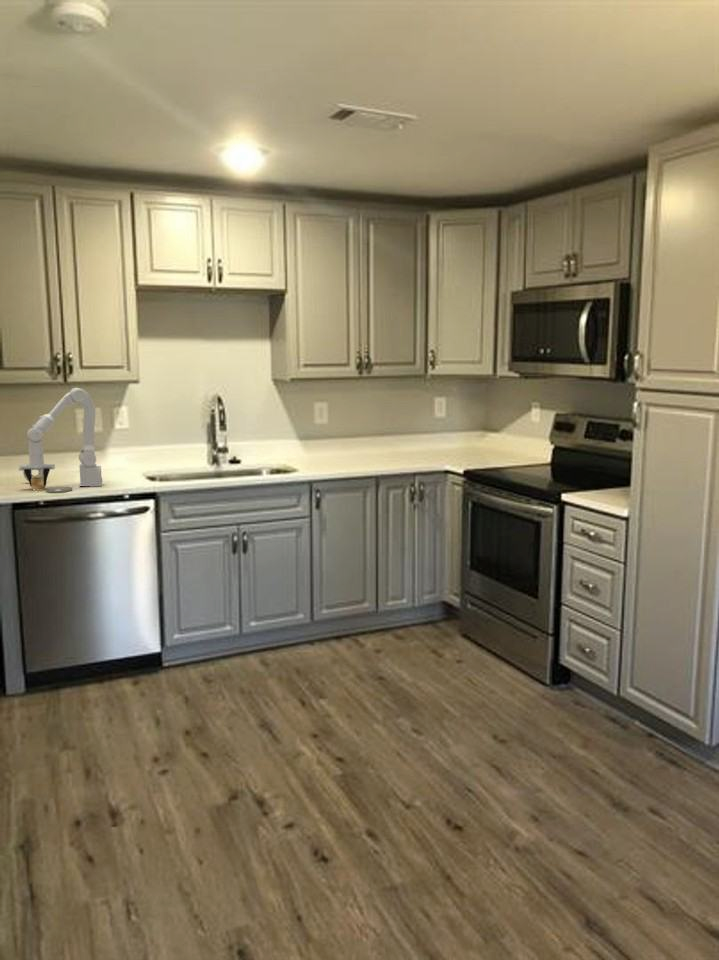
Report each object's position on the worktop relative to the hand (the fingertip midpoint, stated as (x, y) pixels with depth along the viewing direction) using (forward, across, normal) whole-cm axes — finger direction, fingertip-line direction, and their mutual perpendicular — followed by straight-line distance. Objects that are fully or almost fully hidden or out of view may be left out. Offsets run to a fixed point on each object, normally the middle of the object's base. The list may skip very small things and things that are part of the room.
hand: (38, 486), depth 350 cm
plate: (+1, +9, -7) cm, 11 cm away
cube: (+1, 0, 0) cm, 1 cm away
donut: (+2, -3, +18) cm, 18 cm away
